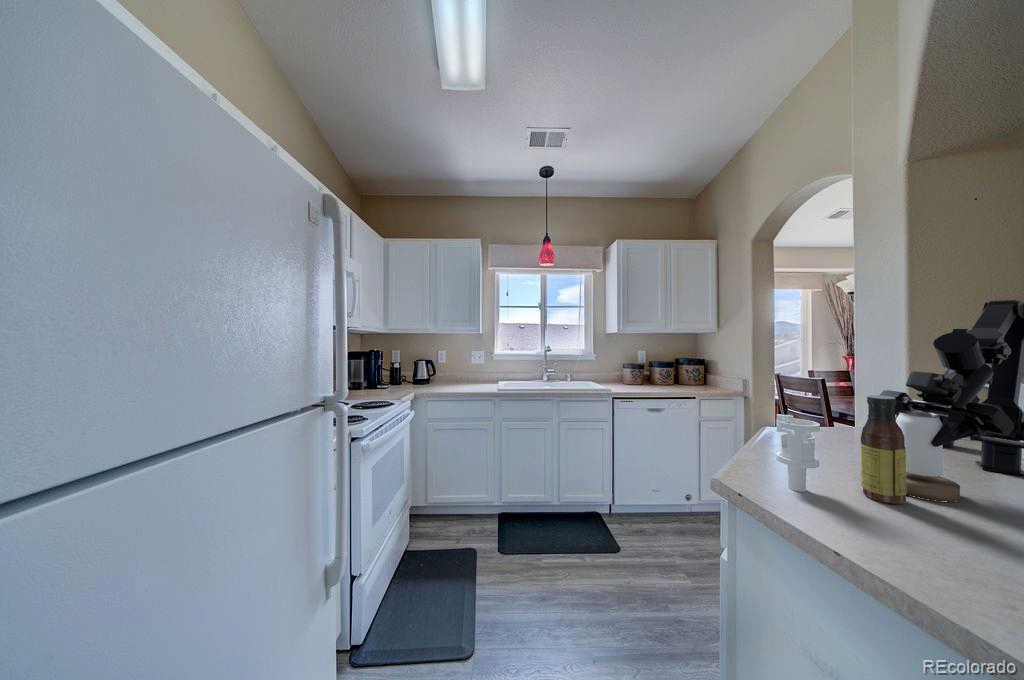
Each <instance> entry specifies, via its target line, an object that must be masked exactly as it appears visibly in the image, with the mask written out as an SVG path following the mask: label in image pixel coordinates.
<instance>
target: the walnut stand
mask: <svg viewBox="0 0 1024 680" xmlns="http://www.w3.org/2000/svg"><path fill="white" fill-rule="evenodd" d="M906 483H907V494H906V496H907V495H911V496H915V497H920V498H924V499H929V500H936V501H947V502H952V503H956V502H955V501H958V502H959V501H961V500H960V499H961V486H960V484H958V483H957V482H956V481H954V480H952V479H949V478H946V477H943V476H940V477H936V478H931V477H922V476H916V475H912V474H908V473H906ZM929 500H928V501H929ZM936 501H935V502H936ZM947 502H946V503H947Z"/></svg>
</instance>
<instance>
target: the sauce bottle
mask: <svg viewBox="0 0 1024 680" xmlns="http://www.w3.org/2000/svg"><path fill="white" fill-rule="evenodd" d="M879 395H880V394H878V395H877V394H876V395H875V394H872V395H867V397H866V404H867V405H868V410H867V411H868V414H867V420H866V422H865V423H864V426H863V427H862V429H861V430H862V431H861V435H860V439H859V440H860V476H861V478H860V479H861V483H860V484H861V487H862V493H863V495H865V496H866V497H868V498H869V499H871V500H873V501H877V502H881V503H886V504H890V505H891V504H892V505H903V504H906V501H907V497H906V496H907V495H906V494H907V483H906V448H905V444H904V443H905V438H904V435H903V432H902V430H901V428H900V427H899V426H898V424H897V423H896V415H895V406H896V404H897V402H896V398H895V397H890V396H879Z"/></svg>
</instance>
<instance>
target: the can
mask: <svg viewBox="0 0 1024 680" xmlns="http://www.w3.org/2000/svg"><path fill="white" fill-rule="evenodd" d="M899 413H900V414H899V416H898V417H897V418H896V423H897V424H898V426H899V427H900V428H901V430H902V432H903V435H904V438H905V443H904V444H905V448H906V473H908V474H912V475H916V476H922V477H931V478H936V477H942V475H943V455H944V453H943V452H944V451H943V450H944V449H943V445H941V446H938V447H934V446H933V445H932V444H931V442H932V440H933V439H934V437H935V436H936V434H937V433H938V432H939V431H940V429H941V428H942V427H943V424H942V422H941V421H940V419H939V417H940V416H939V415H936V414H931V413H925V412H922V411H917V412H916V411H900V412H899Z"/></svg>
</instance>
